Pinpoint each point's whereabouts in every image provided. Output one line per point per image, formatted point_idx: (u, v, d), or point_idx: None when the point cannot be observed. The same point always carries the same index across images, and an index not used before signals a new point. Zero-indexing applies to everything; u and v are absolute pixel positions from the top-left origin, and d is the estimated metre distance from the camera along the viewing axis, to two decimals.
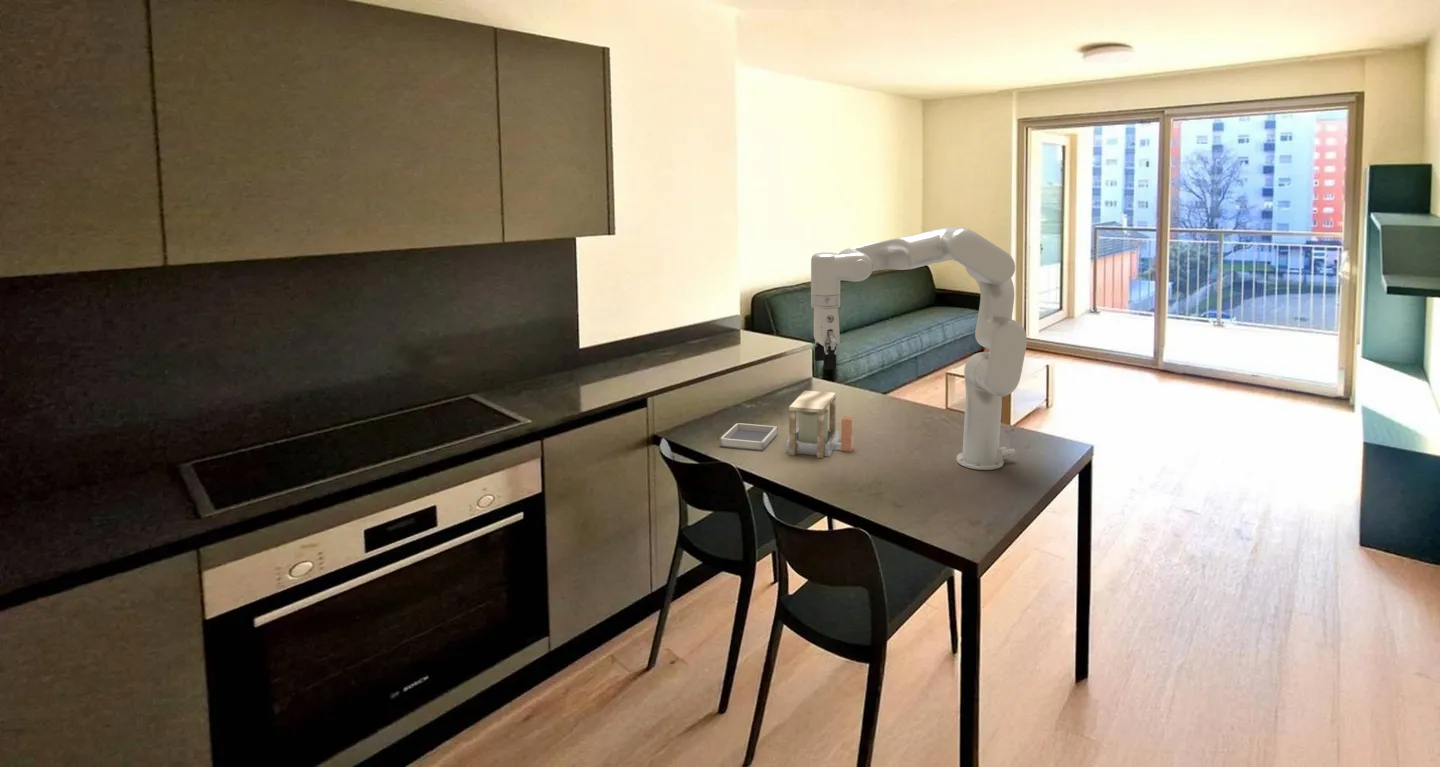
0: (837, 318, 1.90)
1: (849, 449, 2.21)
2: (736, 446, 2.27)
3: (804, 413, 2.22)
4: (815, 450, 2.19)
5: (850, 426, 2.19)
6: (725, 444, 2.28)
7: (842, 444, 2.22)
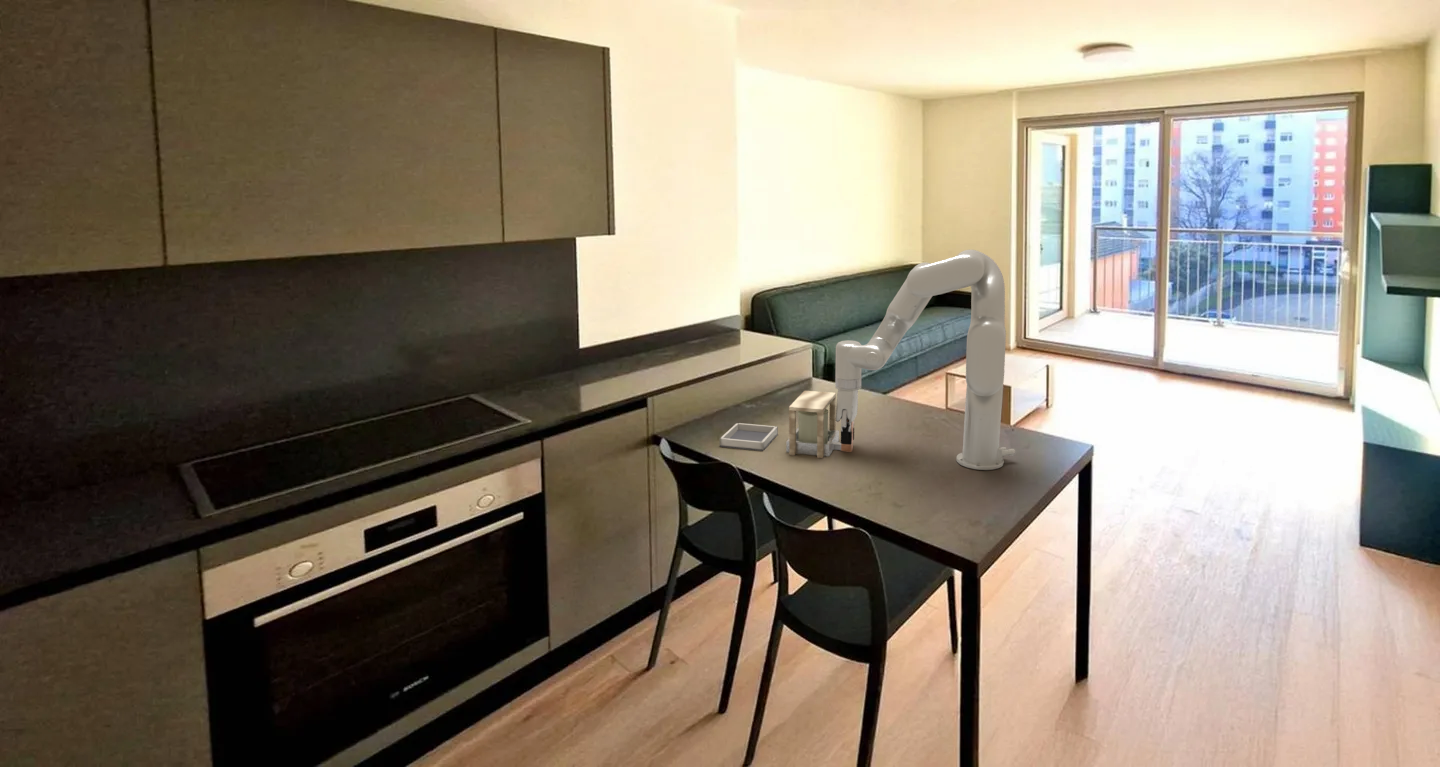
0: None
1: (849, 449, 2.21)
2: (736, 446, 2.27)
3: (804, 413, 2.22)
4: (815, 450, 2.19)
5: None
6: (725, 444, 2.28)
7: (842, 444, 2.22)
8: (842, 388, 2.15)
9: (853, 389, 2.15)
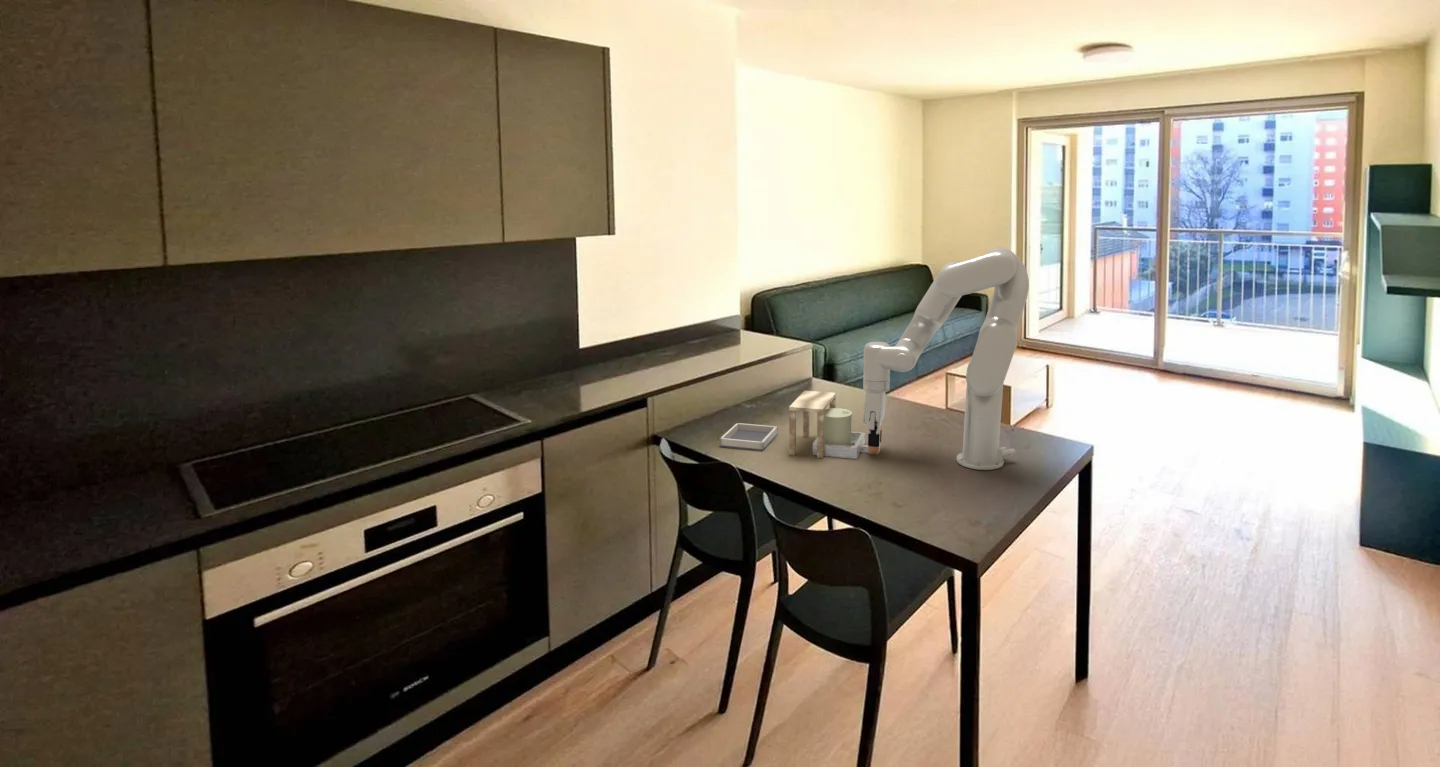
0: None
1: (876, 452, 2.19)
2: (736, 446, 2.27)
3: (827, 415, 2.19)
4: (842, 453, 2.17)
5: None
6: (725, 444, 2.28)
7: (869, 447, 2.19)
8: (870, 390, 2.12)
9: (882, 391, 2.12)
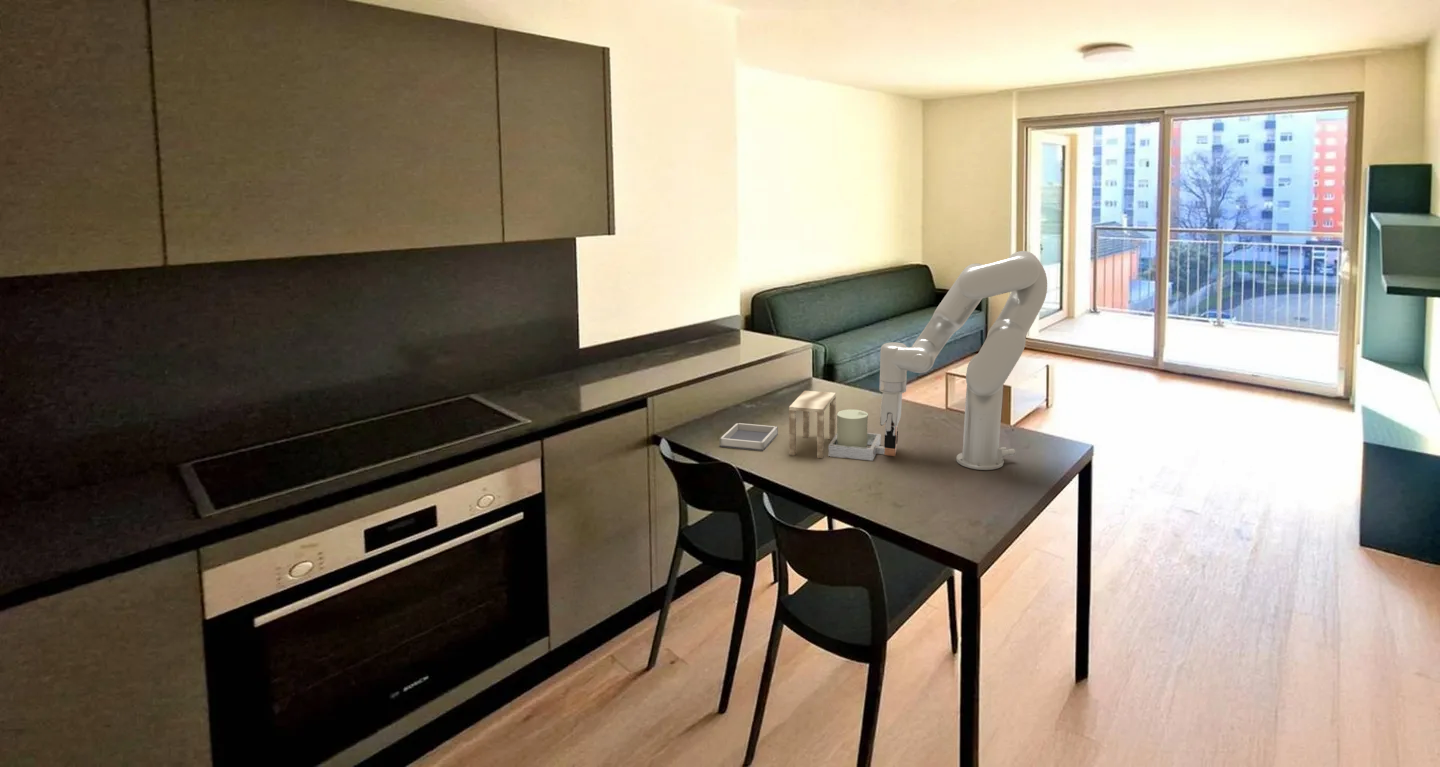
0: None
1: (893, 453, 2.17)
2: (736, 446, 2.27)
3: (843, 416, 2.18)
4: (858, 454, 2.15)
5: None
6: (725, 444, 2.28)
7: (885, 448, 2.17)
8: (887, 391, 2.11)
9: (898, 392, 2.10)
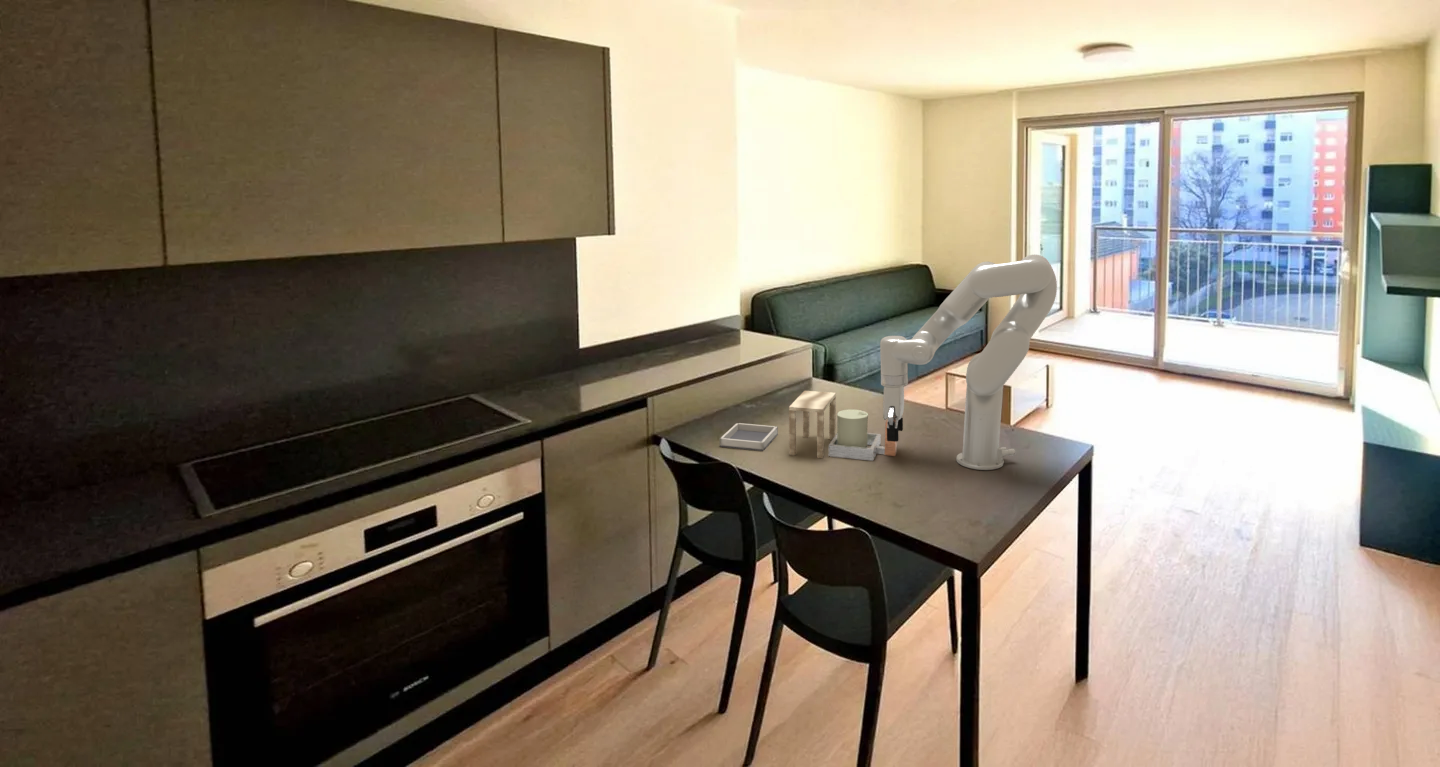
0: None
1: (893, 453, 2.17)
2: (736, 446, 2.27)
3: (843, 416, 2.18)
4: (858, 454, 2.15)
5: None
6: (725, 444, 2.28)
7: (886, 448, 2.17)
8: (889, 385, 2.10)
9: (900, 385, 2.09)
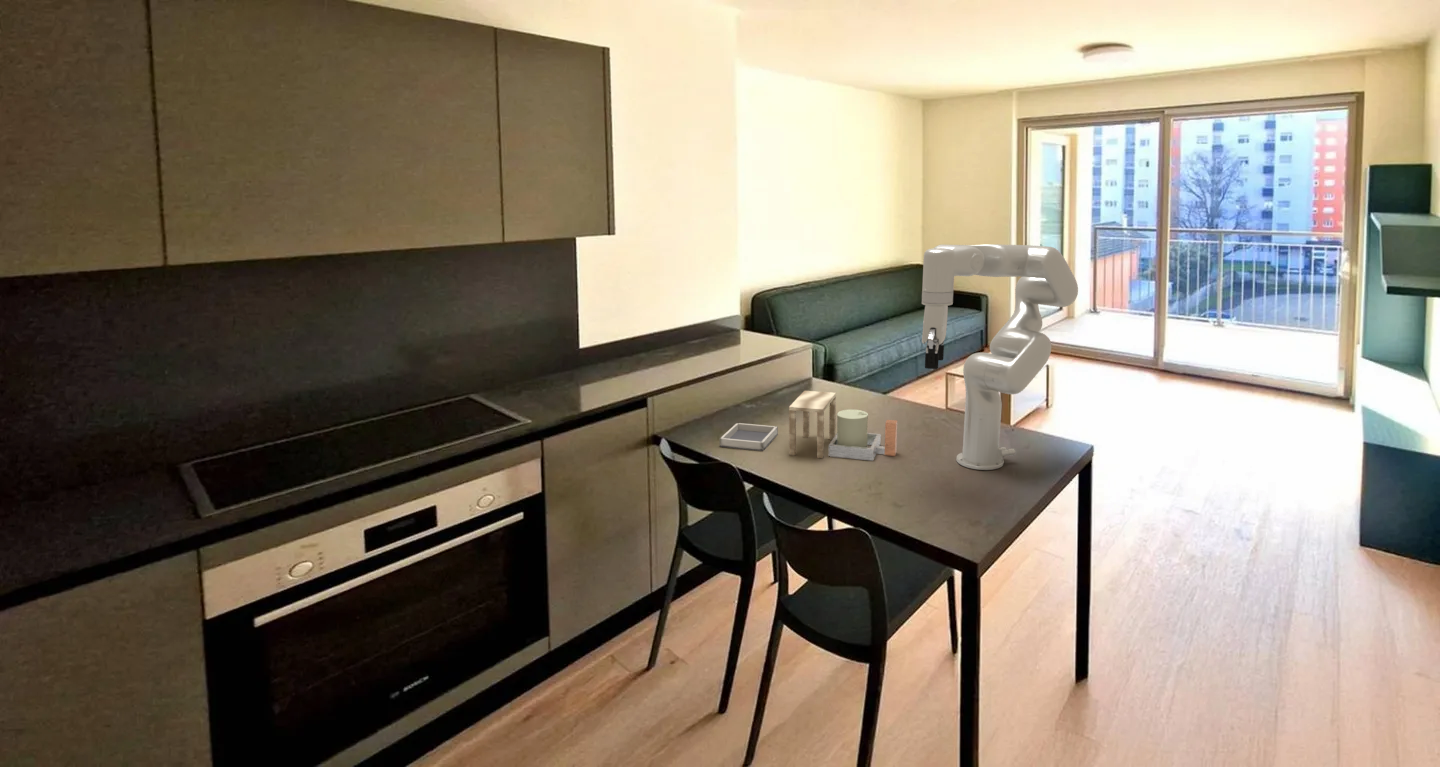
0: None
1: (893, 453, 2.17)
2: (736, 446, 2.27)
3: (843, 416, 2.18)
4: (858, 454, 2.15)
5: (894, 430, 2.15)
6: (725, 444, 2.28)
7: (886, 448, 2.17)
8: (931, 303, 1.84)
9: (944, 304, 1.84)
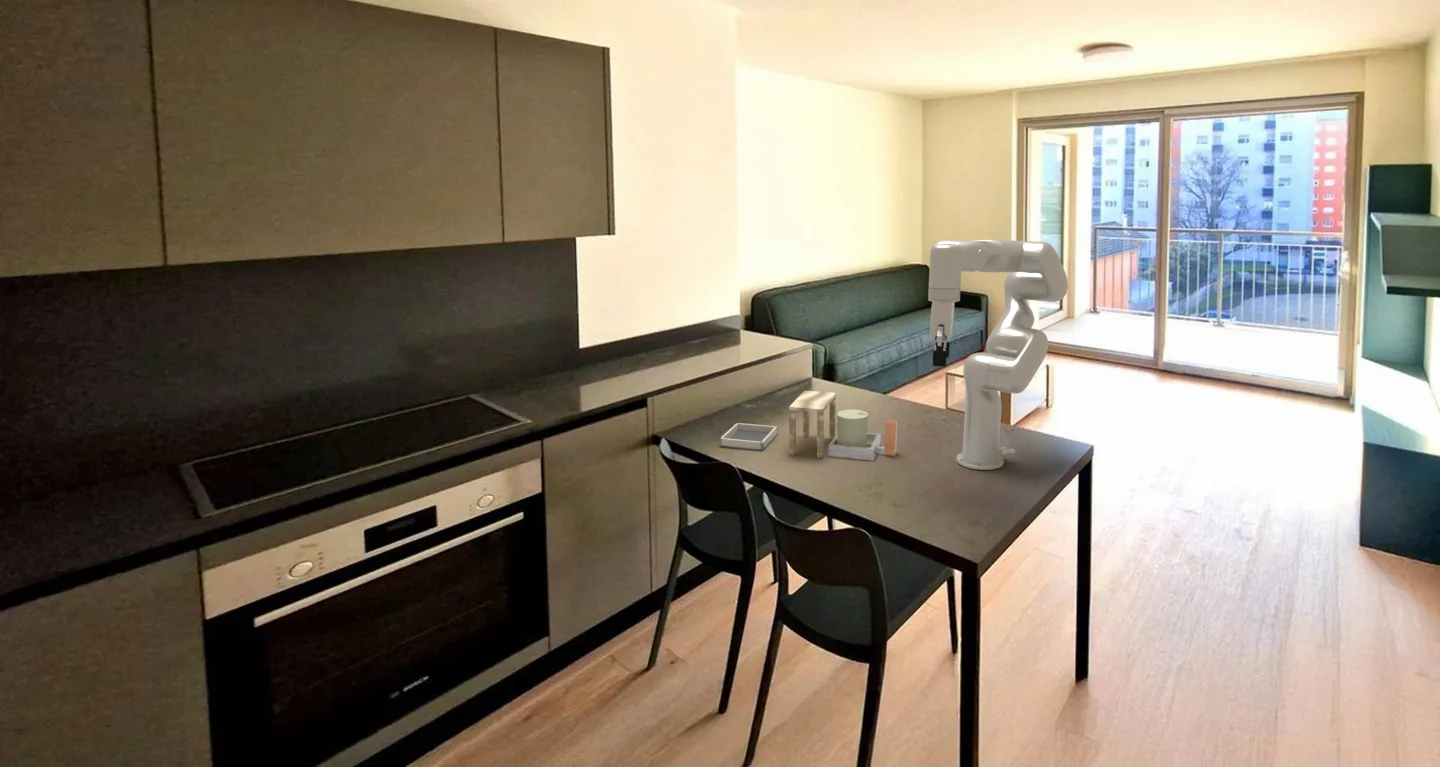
0: None
1: (893, 453, 2.17)
2: (736, 446, 2.27)
3: (843, 416, 2.18)
4: (858, 454, 2.15)
5: (894, 430, 2.15)
6: (725, 444, 2.28)
7: (886, 448, 2.17)
8: (938, 299, 1.81)
9: (952, 300, 1.80)
